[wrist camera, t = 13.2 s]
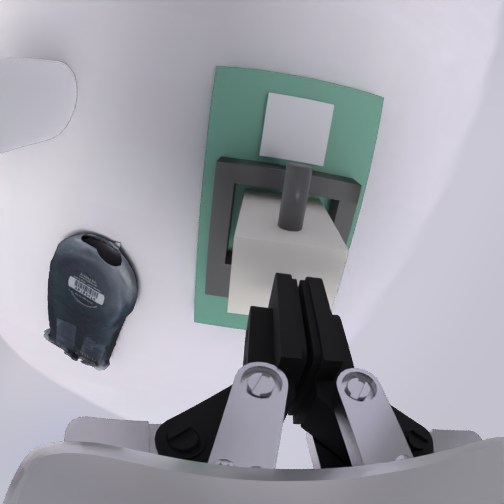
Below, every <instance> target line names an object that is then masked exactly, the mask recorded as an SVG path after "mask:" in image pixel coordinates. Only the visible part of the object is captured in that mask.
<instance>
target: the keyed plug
mask: <svg viewBox="0 0 504 504" xmlns="http://www.w3.org/2000/svg"><path fill="white" fill-rule="evenodd" d="M312 170H313V167H311V166H308V165H305V164H300V163H287V165H286V172H285V178H284V185H283V192H282V193H276V192H268V191H260V190H252V189H245V193H244V197H243V202H242V206H241V210H240V214H239V218H238V222H237V227H236V231H235V235H234V243H233V253H232V264H231V275H230V287H229V298H228V310H227V312H228V313H236V314H244V315H249V311H250V306H257V307H265V308H268V305H269V300H270V296H271V291H272V286H273V282H274V277H275V273H276V272H277V273H284V274H291V275H292V279H297V284H298V285H299V282H300V280H305V278H306V277H315V278H321V279H322V280H323V283H324V287H325V291H326V294H327V298H328V301H329V305H330V309H331V310H332V307H333V304H334V301H335V298H336V294H337V291H338V288H339V285H340V281H341V278H342V274H343V271H344V267H345V264H346V260H347V257H348V253H349V250H348V248H347V246H346V245H345V243H344V241H343V239H342V237H341V235H340V234H339V232H338V230H337V228H336V227H335V225H334V223H333V221H332V220H331V218H330V216H329V214H328V213H327V211H326V209H325V207H324V206H323V204H322V202H321V201H320V199H319V198H312V197H308V194H309V188H310V182H311V176H312Z"/></svg>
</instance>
